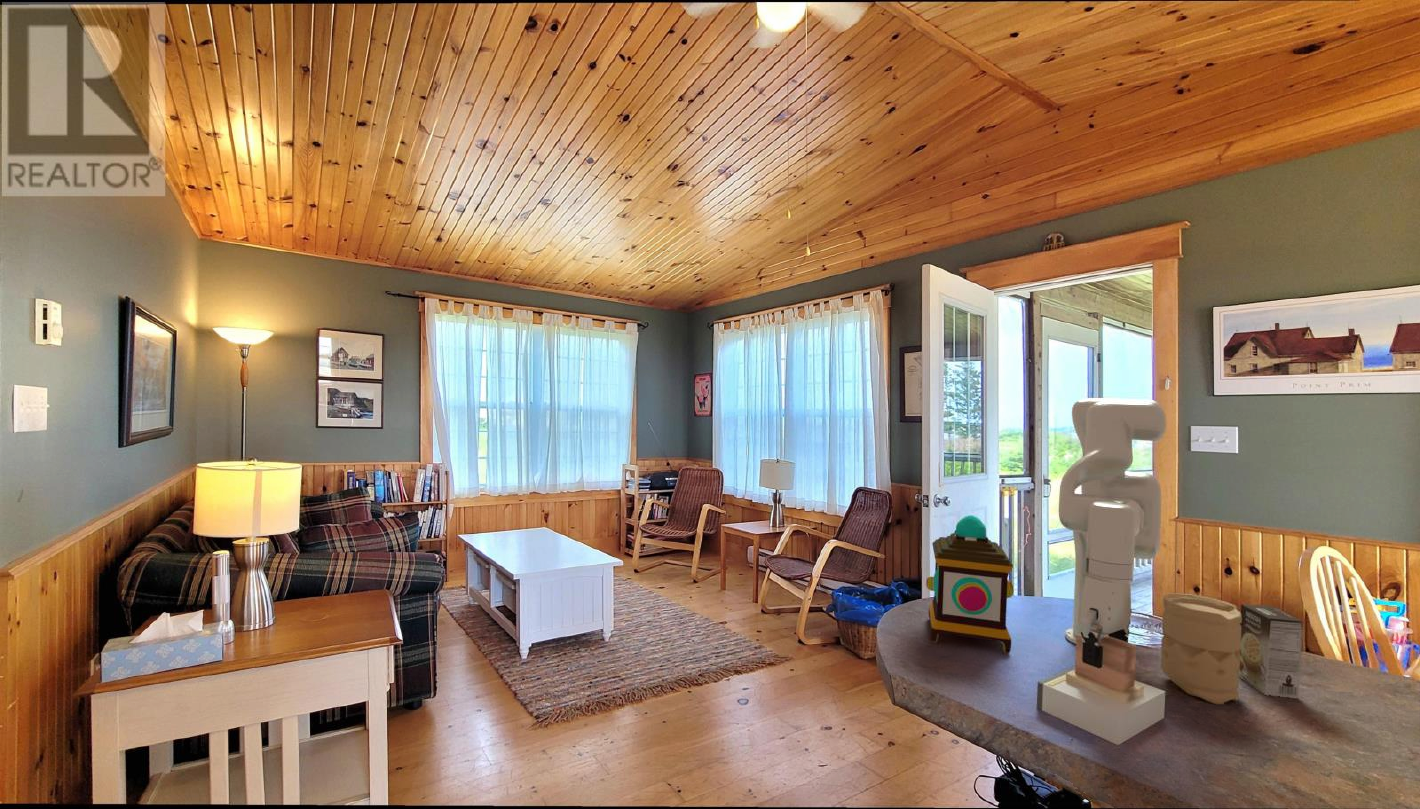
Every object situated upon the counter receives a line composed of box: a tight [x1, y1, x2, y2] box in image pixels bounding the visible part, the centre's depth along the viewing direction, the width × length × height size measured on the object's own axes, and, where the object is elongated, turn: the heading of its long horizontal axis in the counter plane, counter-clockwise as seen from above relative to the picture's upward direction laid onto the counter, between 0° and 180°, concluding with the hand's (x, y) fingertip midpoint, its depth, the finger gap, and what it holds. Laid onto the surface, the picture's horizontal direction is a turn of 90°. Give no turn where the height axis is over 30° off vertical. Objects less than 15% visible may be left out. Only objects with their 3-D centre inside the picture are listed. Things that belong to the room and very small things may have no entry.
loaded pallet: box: [1066, 631, 1144, 704], centre depth 113 cm, size 8×10×9 cm
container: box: [1160, 592, 1242, 705], centre depth 124 cm, size 13×13×18 cm
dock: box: [1036, 666, 1166, 746], centre depth 114 cm, size 18×14×5 cm
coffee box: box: [1239, 603, 1304, 699], centre depth 127 cm, size 9×6×16 cm
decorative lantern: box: [925, 514, 1014, 655], centre depth 149 cm, size 20×20×30 cm
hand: (1105, 659), depth 113 cm, fingers open, 9 cm apart
